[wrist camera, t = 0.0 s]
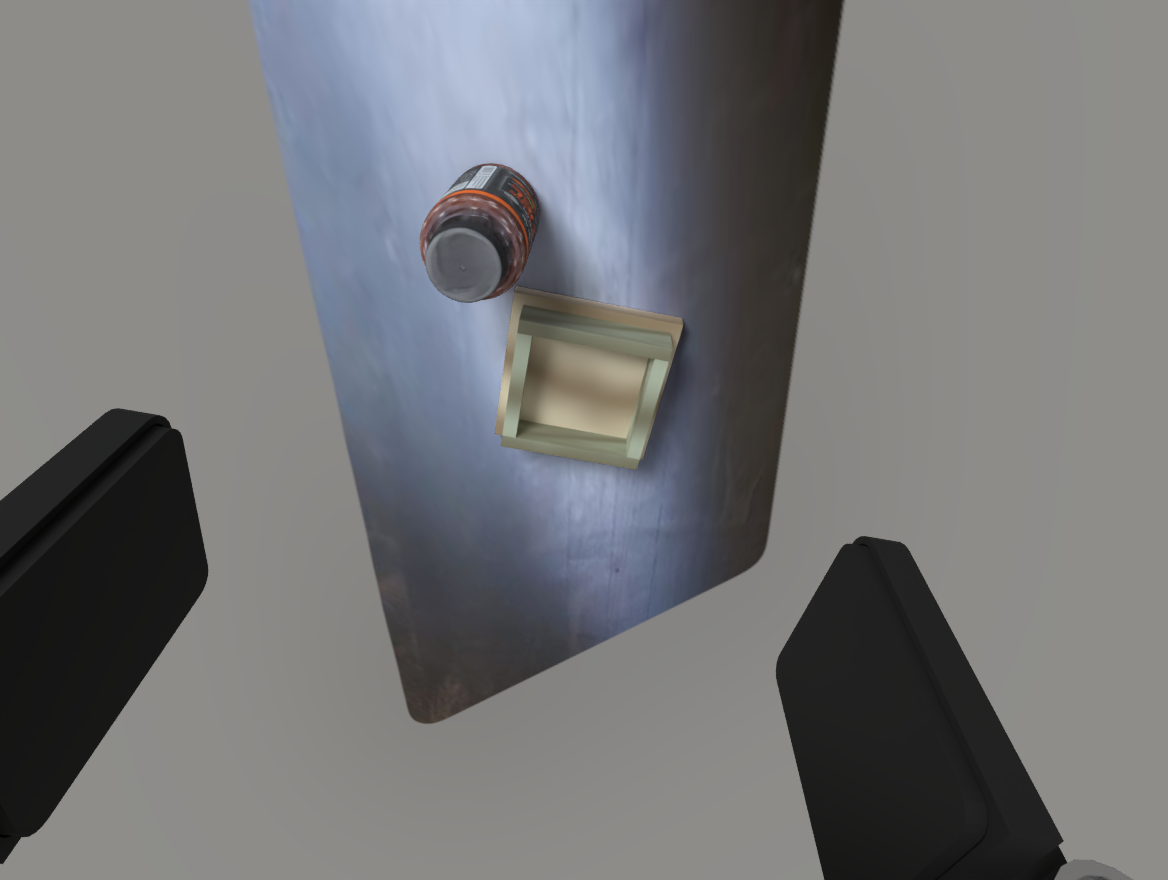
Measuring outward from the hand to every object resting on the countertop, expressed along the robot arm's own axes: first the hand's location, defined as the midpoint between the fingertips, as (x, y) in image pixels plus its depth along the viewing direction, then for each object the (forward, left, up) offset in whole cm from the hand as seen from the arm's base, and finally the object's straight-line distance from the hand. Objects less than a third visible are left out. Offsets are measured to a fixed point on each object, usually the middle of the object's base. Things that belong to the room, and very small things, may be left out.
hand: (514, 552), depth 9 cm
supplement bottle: (+6, -5, -37) cm, 38 cm away
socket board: (+17, +3, -37) cm, 41 cm away
